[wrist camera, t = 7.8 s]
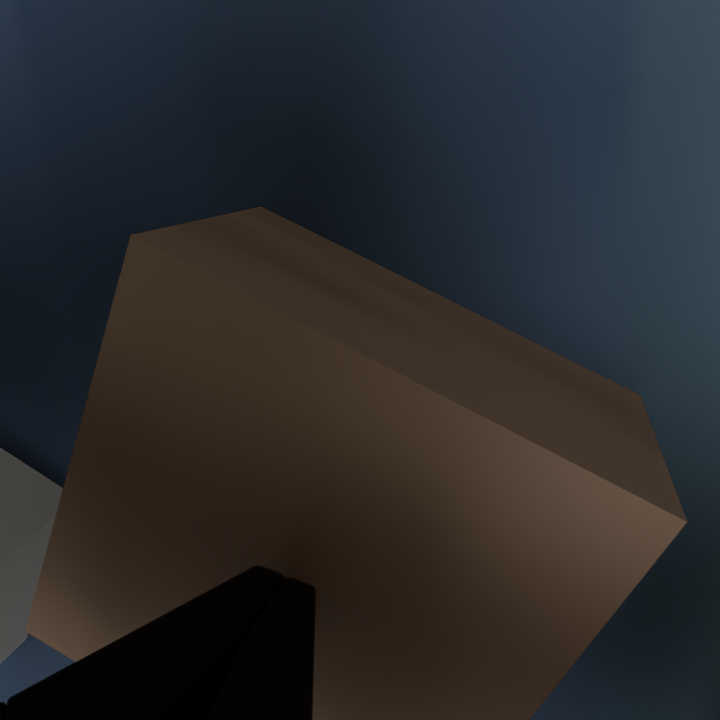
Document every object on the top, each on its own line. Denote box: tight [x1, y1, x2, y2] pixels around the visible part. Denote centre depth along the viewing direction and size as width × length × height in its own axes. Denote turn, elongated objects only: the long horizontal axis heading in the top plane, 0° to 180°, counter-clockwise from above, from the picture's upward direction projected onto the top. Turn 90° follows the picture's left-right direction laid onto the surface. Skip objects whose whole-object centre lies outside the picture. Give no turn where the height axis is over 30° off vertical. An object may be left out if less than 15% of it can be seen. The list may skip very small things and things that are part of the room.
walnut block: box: [25, 206, 687, 720], centre depth 10 cm, size 7×7×4 cm
